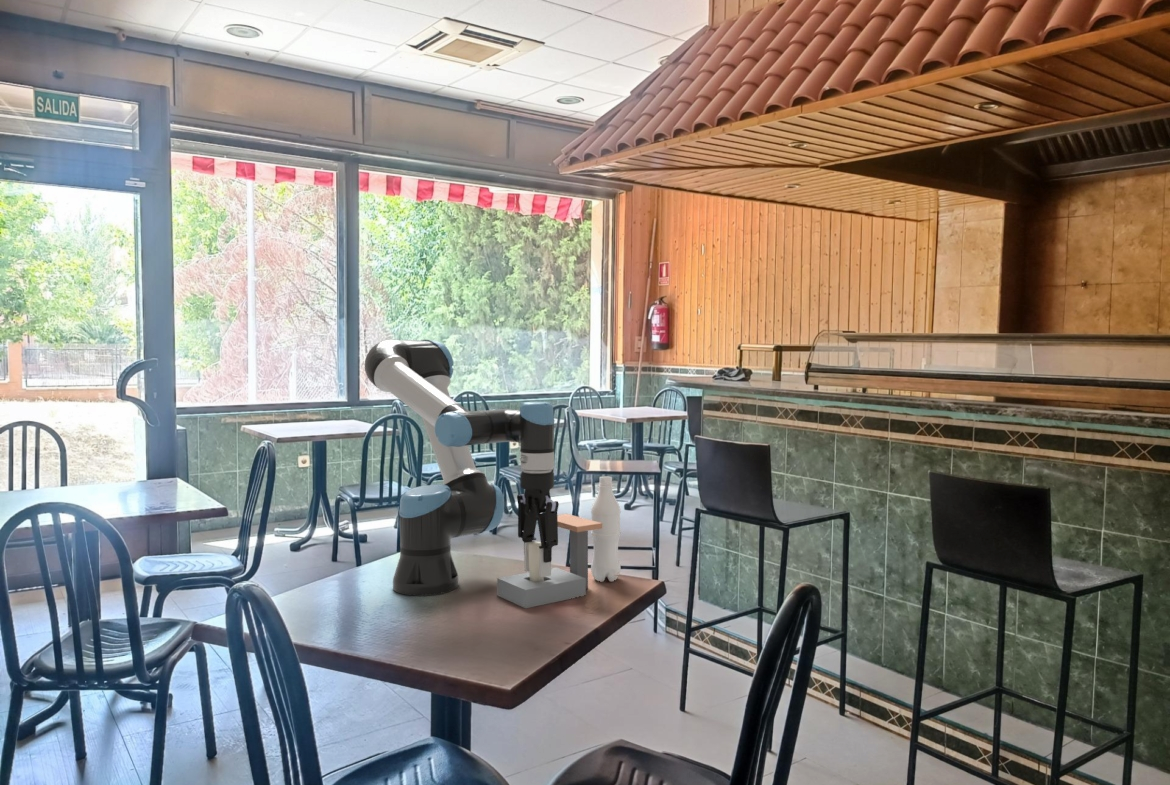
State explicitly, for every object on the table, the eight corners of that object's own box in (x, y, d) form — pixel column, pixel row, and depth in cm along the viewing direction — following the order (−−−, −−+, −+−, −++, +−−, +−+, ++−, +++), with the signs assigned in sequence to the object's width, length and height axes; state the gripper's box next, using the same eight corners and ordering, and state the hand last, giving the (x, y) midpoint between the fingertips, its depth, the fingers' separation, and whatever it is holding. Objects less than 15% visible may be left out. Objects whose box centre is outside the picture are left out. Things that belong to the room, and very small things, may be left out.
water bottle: (625, 578, 198) (625, 476, 197) (610, 585, 192) (610, 480, 191) (600, 574, 202) (600, 474, 201) (585, 580, 196) (585, 477, 195)
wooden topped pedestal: (542, 585, 192) (542, 517, 192) (567, 580, 196) (566, 513, 196) (577, 598, 181) (577, 526, 180) (602, 593, 185) (602, 523, 185)
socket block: (497, 595, 184) (497, 578, 184) (555, 583, 193) (555, 567, 193) (525, 608, 174) (525, 590, 174) (585, 595, 184) (585, 578, 184)
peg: (539, 593, 185) (537, 541, 185) (547, 596, 183) (545, 543, 183) (527, 596, 183) (525, 543, 183) (535, 598, 181) (533, 545, 181)
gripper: (501, 467, 187) (502, 567, 188) (546, 476, 172) (546, 585, 173) (529, 465, 192) (529, 562, 193) (574, 473, 177) (575, 579, 178)
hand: (537, 573), depth 183 cm, fingers open, 5 cm apart
